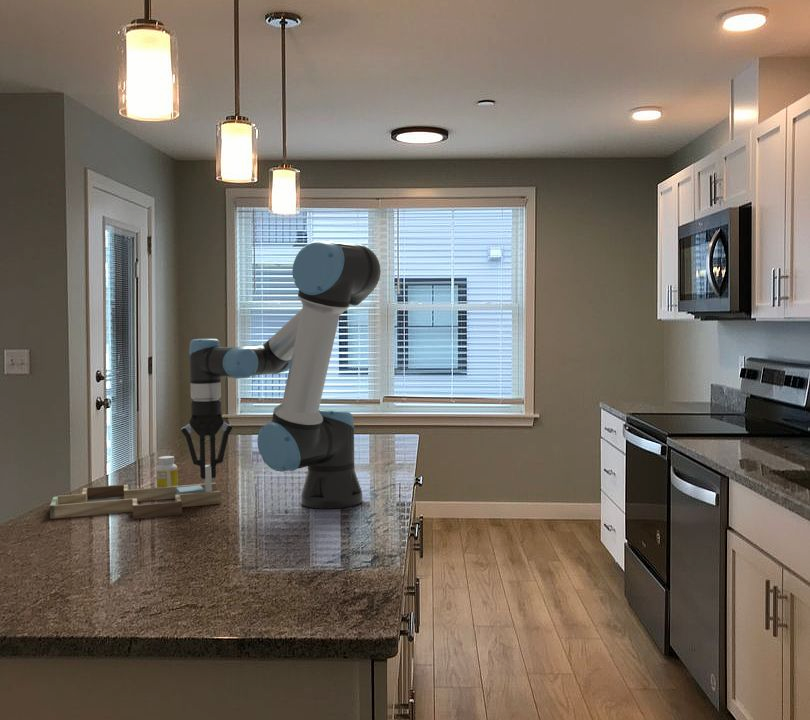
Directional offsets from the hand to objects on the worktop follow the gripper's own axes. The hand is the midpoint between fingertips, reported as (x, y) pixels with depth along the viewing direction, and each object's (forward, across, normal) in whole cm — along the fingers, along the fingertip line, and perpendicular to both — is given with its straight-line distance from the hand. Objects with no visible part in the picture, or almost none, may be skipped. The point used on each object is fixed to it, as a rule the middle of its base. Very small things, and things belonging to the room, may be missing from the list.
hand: (208, 490), depth 212 cm
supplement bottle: (+3, +10, -12) cm, 15 cm away
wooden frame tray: (+2, +18, +1) cm, 18 cm away
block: (+3, +4, 0) cm, 5 cm away
